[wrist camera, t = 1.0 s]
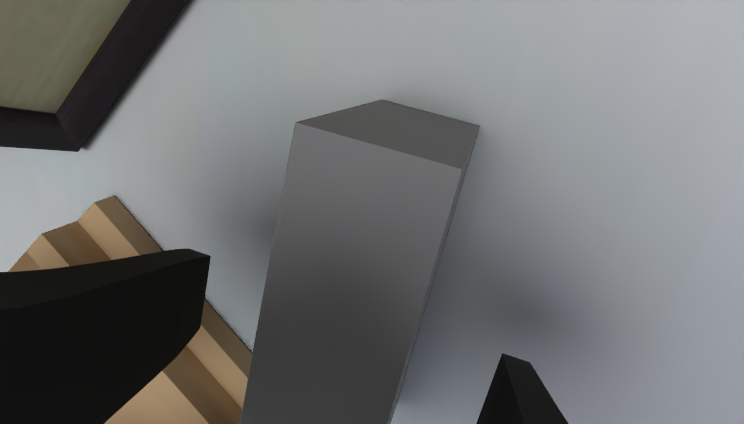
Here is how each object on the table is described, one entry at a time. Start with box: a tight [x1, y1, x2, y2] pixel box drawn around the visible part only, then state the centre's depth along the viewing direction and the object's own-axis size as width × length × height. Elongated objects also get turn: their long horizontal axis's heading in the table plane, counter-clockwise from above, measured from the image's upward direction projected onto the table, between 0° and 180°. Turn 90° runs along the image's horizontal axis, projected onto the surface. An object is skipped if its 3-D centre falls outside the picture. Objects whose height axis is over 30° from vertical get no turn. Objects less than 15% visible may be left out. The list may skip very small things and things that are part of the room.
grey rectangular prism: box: [240, 100, 480, 424], centre depth 14 cm, size 3×10×7 cm, turn 167°
